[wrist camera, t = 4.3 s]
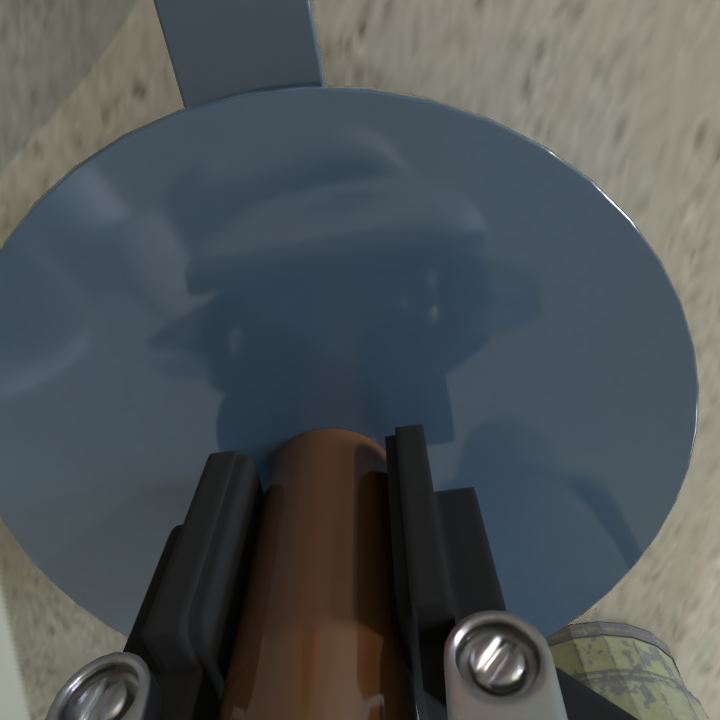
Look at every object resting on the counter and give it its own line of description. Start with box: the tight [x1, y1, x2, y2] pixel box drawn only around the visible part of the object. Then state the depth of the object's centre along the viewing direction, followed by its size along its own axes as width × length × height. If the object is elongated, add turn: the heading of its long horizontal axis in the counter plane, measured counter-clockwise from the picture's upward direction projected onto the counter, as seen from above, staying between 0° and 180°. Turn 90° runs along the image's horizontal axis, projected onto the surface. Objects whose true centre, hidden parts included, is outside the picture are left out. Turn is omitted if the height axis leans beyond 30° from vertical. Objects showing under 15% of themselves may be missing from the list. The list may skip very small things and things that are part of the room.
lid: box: [0, 85, 699, 720], centre depth 10 cm, size 15×15×7 cm
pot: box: [153, 0, 328, 108], centre depth 15 cm, size 14×19×8 cm
